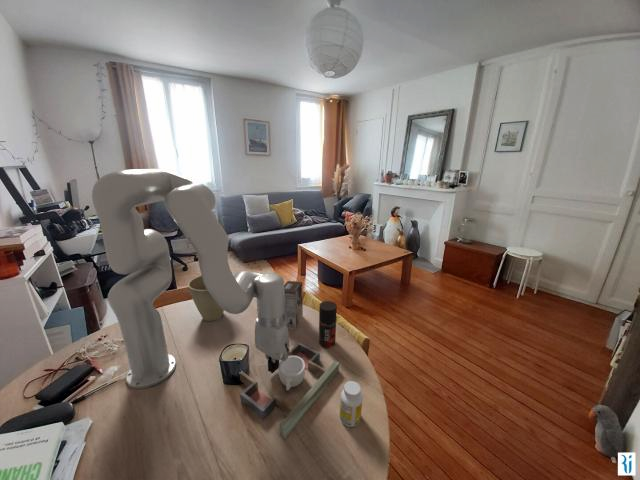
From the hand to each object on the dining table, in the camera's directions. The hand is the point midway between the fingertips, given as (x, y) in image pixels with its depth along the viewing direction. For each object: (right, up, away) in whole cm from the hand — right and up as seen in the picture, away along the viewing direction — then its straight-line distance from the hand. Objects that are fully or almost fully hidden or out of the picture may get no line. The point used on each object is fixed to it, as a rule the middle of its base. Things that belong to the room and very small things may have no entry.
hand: (273, 369), depth 77 cm
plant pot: (-30, +7, +28) cm, 42 cm away
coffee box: (+3, +6, +25) cm, 26 cm away
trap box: (+2, -2, -1) cm, 3 cm away
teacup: (+6, -3, -3) cm, 7 cm away
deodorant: (+17, +2, +14) cm, 22 cm away
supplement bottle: (+22, -6, -13) cm, 26 cm away
